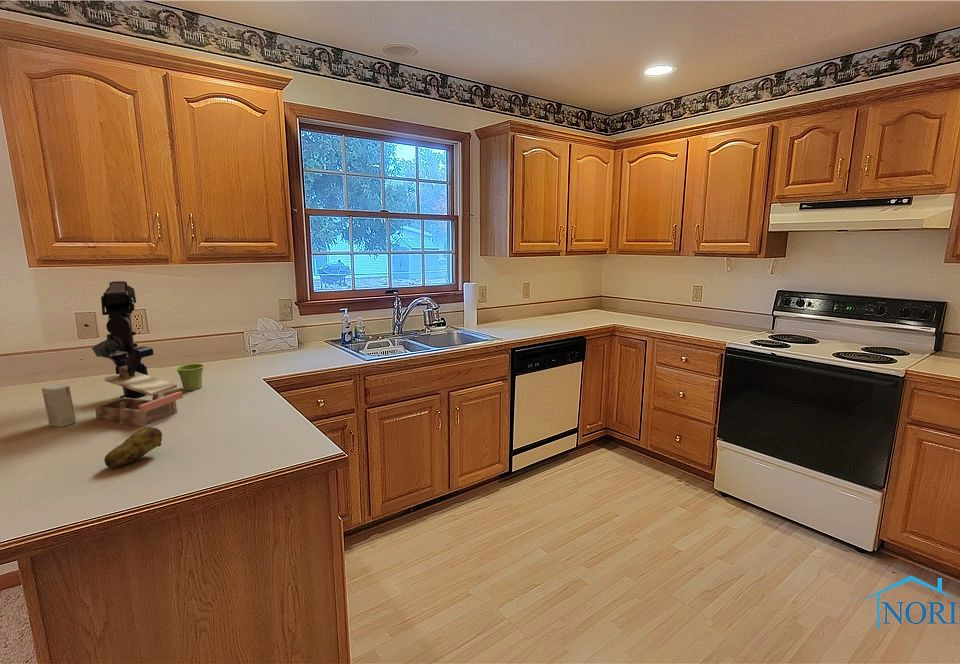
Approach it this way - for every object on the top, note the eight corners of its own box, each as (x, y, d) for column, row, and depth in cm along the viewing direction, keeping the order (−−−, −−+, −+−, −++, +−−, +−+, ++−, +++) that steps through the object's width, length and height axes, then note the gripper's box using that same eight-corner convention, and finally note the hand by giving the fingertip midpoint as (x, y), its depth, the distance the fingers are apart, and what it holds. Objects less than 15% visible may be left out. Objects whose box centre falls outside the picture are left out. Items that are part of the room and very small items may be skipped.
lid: (104, 380, 155) (104, 367, 154) (131, 373, 164) (131, 360, 163) (151, 396, 151) (151, 383, 150) (176, 387, 159) (176, 374, 158)
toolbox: (92, 420, 152) (89, 399, 151) (129, 407, 164) (127, 387, 162) (142, 426, 147) (139, 405, 145) (177, 413, 158) (174, 393, 157)
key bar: (139, 411, 145) (138, 405, 144) (179, 397, 158) (178, 391, 158) (143, 412, 144) (142, 406, 144) (182, 397, 158) (182, 392, 157)
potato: (104, 462, 123) (99, 433, 122) (162, 448, 132) (158, 421, 130) (106, 474, 117) (101, 443, 116) (167, 458, 126) (164, 430, 124)
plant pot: (181, 393, 178) (178, 371, 177) (176, 387, 185) (173, 366, 184) (208, 388, 184) (206, 367, 183) (203, 383, 191) (201, 362, 190)
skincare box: (77, 422, 150) (70, 385, 148) (61, 427, 146) (54, 389, 144) (63, 420, 152) (57, 383, 150) (47, 425, 148) (40, 387, 146)
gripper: (73, 332, 150) (81, 379, 153) (117, 336, 145) (124, 385, 148) (109, 326, 161) (116, 370, 164) (151, 330, 156) (157, 375, 159)
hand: (127, 375), depth 158 cm, fingers closed on lid, 3 cm apart
